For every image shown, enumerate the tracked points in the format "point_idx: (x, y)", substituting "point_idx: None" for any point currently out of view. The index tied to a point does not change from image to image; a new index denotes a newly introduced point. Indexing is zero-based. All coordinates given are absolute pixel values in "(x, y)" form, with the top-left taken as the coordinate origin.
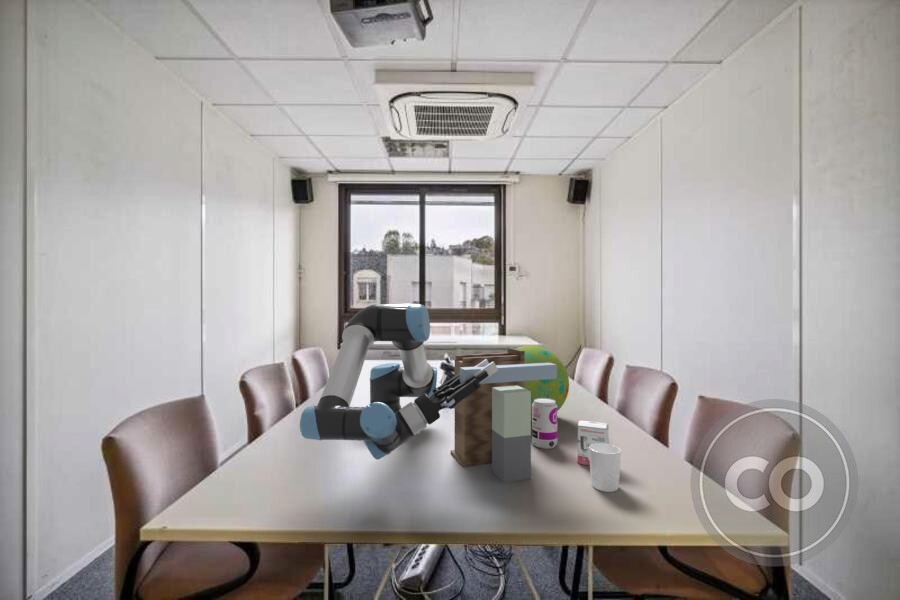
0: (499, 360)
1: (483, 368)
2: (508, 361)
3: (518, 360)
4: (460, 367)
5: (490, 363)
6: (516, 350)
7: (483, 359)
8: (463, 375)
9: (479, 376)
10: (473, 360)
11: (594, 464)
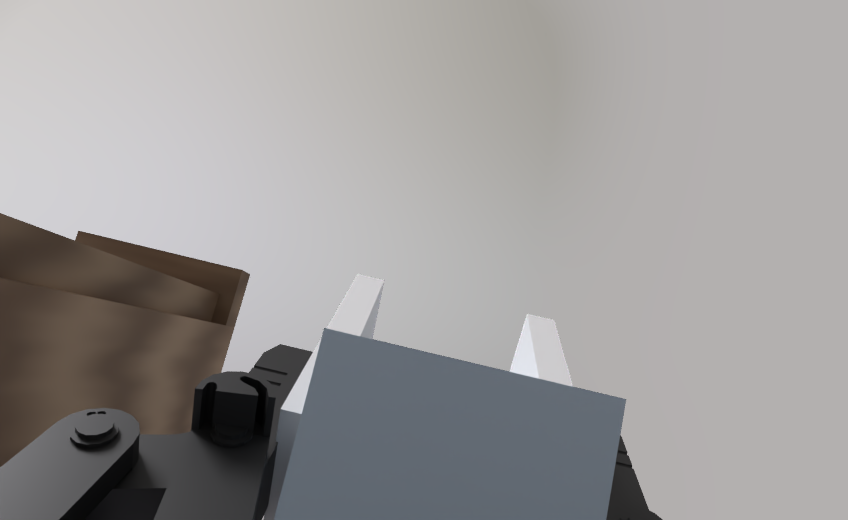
0: (158, 303)
1: (565, 383)
2: (197, 320)
3: (210, 321)
4: (333, 330)
5: (546, 332)
6: (194, 260)
7: (93, 269)
8: (530, 516)
9: (643, 502)
10: (25, 254)
11: None
